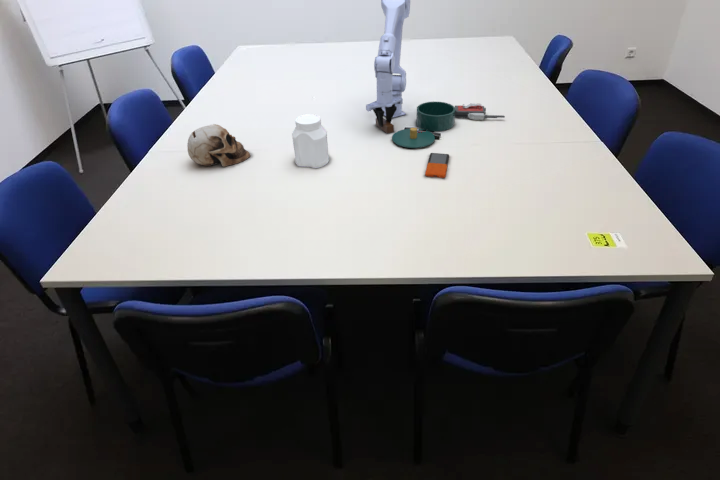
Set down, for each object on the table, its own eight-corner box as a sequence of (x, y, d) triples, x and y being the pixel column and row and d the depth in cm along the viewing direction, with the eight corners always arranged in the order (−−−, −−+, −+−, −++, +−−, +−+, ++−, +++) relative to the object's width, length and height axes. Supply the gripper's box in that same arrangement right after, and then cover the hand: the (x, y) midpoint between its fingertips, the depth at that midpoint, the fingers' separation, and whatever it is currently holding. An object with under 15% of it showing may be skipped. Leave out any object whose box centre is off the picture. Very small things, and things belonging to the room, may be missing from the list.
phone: (424, 173, 149) (430, 152, 160) (424, 177, 150) (429, 155, 161) (445, 175, 148) (449, 153, 159) (445, 178, 148) (449, 156, 160)
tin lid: (384, 137, 174) (384, 126, 171) (419, 127, 179) (420, 117, 177) (406, 153, 163) (406, 142, 160) (443, 143, 168) (444, 132, 166)
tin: (409, 121, 185) (409, 106, 181) (439, 113, 190) (440, 98, 186) (429, 134, 175) (430, 119, 171) (461, 126, 180) (463, 110, 176)
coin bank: (254, 154, 165) (243, 119, 157) (218, 180, 156) (204, 144, 147) (224, 145, 173) (212, 112, 165) (188, 169, 163) (173, 135, 155)
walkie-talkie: (451, 120, 184) (504, 121, 182) (452, 109, 181) (506, 110, 179) (451, 111, 191) (501, 112, 189) (452, 101, 188) (503, 101, 186)
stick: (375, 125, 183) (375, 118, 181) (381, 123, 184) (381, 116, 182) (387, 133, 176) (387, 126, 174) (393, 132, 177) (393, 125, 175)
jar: (291, 165, 158) (285, 123, 149) (301, 153, 166) (296, 112, 157) (323, 169, 156) (320, 126, 147) (332, 155, 163) (329, 114, 154)
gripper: (372, 97, 165) (372, 133, 174) (407, 89, 170) (406, 124, 179) (362, 91, 170) (363, 126, 179) (397, 83, 176) (396, 118, 184)
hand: (384, 125), depth 179 cm, fingers closed on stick, 3 cm apart
